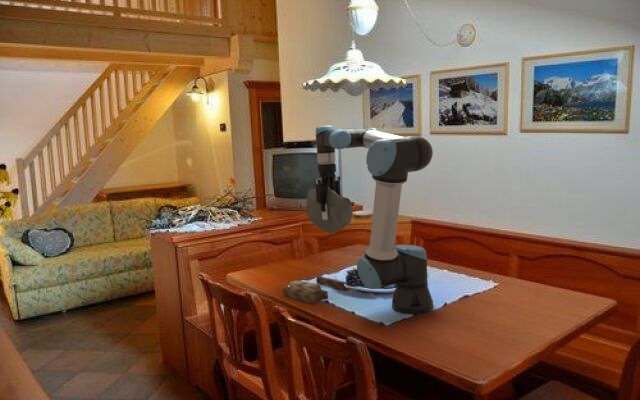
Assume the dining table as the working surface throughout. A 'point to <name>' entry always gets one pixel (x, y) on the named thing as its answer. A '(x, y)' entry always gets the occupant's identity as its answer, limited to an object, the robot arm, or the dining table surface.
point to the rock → (329, 211)
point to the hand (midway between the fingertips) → (330, 217)
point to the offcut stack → (305, 287)
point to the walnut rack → (318, 296)
